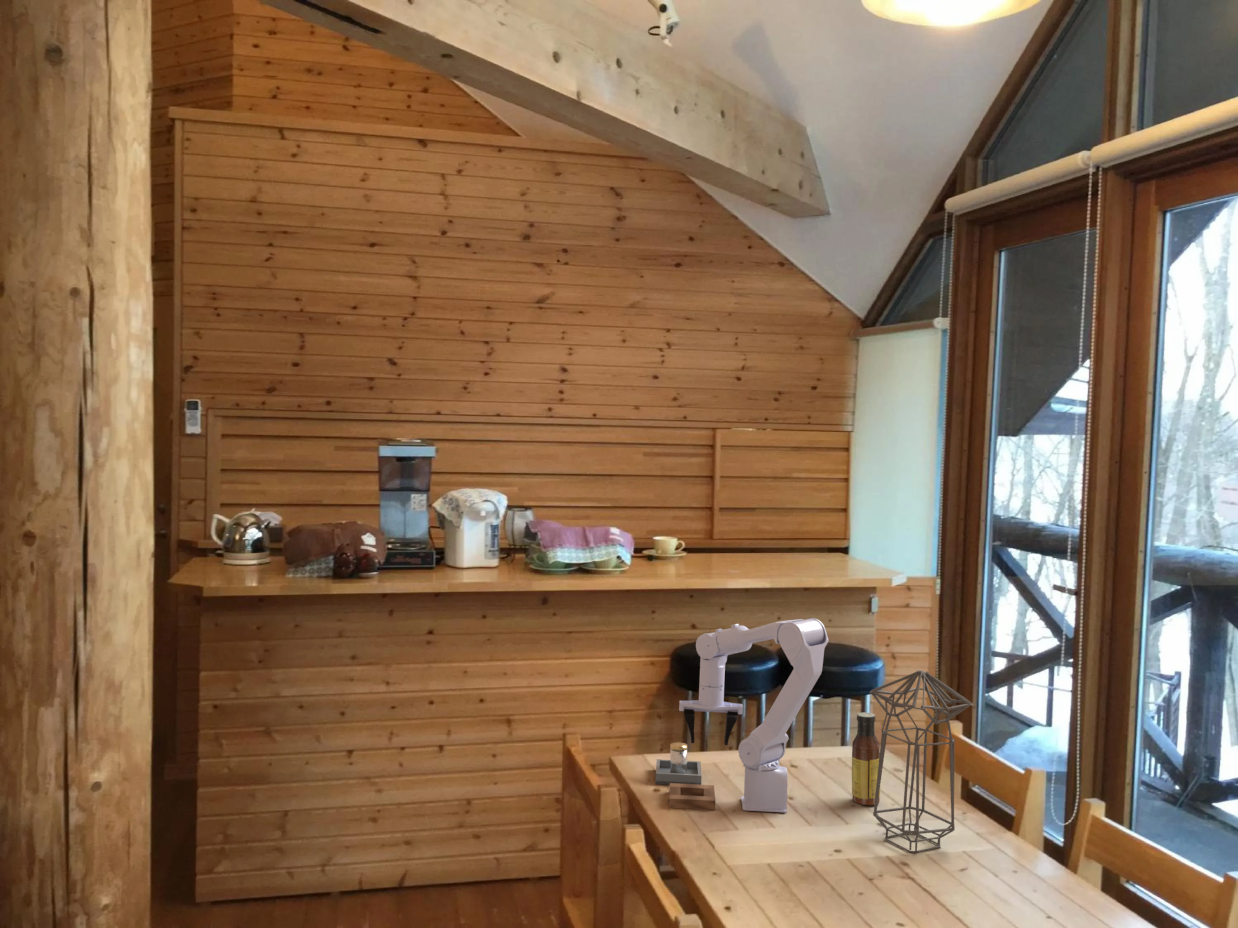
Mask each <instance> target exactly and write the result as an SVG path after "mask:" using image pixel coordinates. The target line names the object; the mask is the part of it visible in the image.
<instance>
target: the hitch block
mask: <svg viewBox="0 0 1238 928" xmlns="http://www.w3.org/2000/svg"><path fill="white" fill-rule="evenodd" d="M668 798H669V799H668V800H669V801H668V805H669V806H668V808H669V807H670V809H673V808H676V809H688V810H689V809H692V810H708V811H709V810H710V811H716V802H717V801H716V791H715V785H714V784H713V785H712V784H711V785H710V784H701V785H698V784H678V783H670V785H669V797H668Z"/></svg>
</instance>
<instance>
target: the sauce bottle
mask: <svg viewBox="0 0 1238 928" xmlns="http://www.w3.org/2000/svg"><path fill="white" fill-rule="evenodd" d="M856 720H857V730H856V732H857V734H856V735H855V737H854V739H853V741H852V746H851V747H852V748H851V749H852V752H851V795H852V800H853V802H854V803H856V804H858V805H862V806H868V807H869V806H874V804H875V795H876V785H877V775H878V765H879V755H880V745H881V743H880V742H879V740H878V738H877V736H876V734H875V733H876V732H875V723H876V714H875V713H872V712H871V713H870V712H865V711H864V712H858V713H856ZM880 796H881V789H880V790H879V798H878V804H880V801H881V799H880V798H881V797H880Z"/></svg>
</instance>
